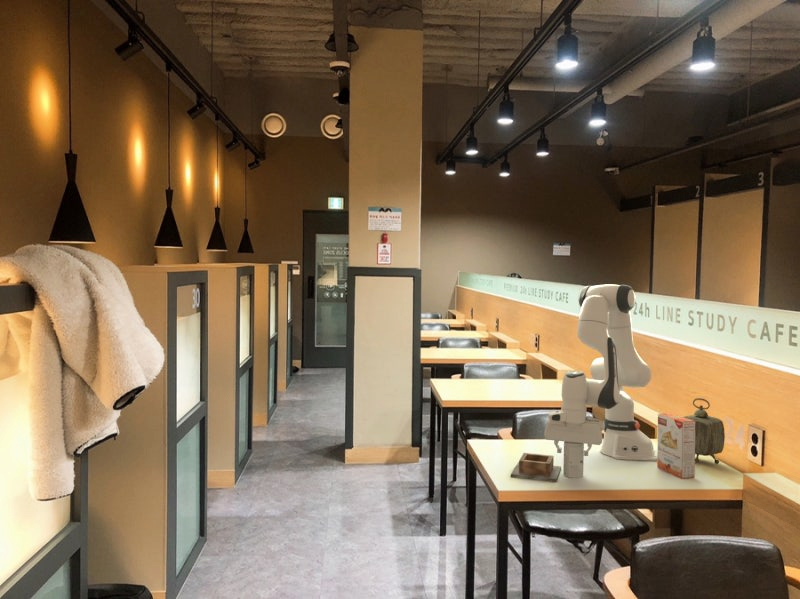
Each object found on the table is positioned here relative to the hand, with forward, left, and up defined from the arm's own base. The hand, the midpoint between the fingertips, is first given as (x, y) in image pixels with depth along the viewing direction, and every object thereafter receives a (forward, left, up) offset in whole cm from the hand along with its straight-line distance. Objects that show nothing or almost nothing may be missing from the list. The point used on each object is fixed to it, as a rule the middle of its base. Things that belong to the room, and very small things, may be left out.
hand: (572, 454), depth 223 cm
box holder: (+13, +2, -8) cm, 15 cm away
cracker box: (-35, -17, -8) cm, 40 cm away
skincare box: (0, 0, -8) cm, 8 cm away
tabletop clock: (-45, -36, -8) cm, 59 cm away
